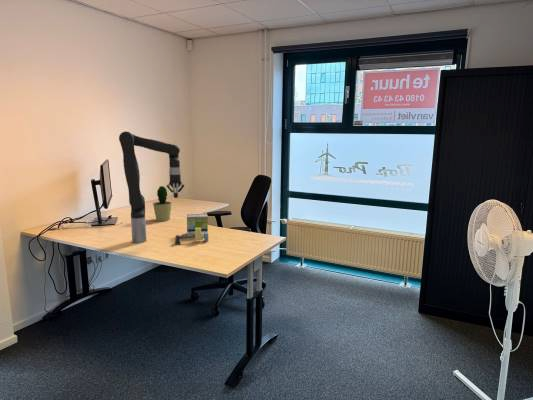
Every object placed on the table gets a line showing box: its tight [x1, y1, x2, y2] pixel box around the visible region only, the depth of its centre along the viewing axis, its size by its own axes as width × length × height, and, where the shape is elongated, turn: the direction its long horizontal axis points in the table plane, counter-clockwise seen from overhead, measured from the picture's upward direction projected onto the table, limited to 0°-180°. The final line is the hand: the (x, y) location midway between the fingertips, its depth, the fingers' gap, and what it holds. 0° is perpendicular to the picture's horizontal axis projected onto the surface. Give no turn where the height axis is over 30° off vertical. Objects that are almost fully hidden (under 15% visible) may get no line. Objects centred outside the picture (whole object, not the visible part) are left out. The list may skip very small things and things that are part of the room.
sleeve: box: [193, 228, 204, 241], centre depth 258 cm, size 5×5×8 cm
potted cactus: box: [152, 185, 173, 222], centre depth 319 cm, size 15×15×30 cm
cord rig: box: [174, 231, 209, 246], centre depth 258 cm, size 22×6×6 cm, turn 108°
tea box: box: [186, 213, 209, 236], centre depth 276 cm, size 15×10×15 cm
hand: (175, 197), depth 264 cm, fingers closed
